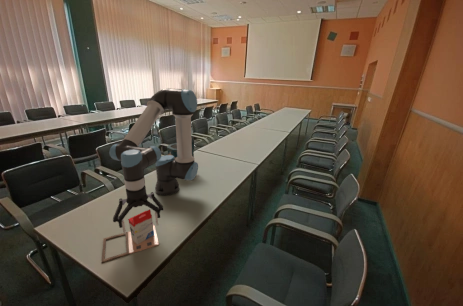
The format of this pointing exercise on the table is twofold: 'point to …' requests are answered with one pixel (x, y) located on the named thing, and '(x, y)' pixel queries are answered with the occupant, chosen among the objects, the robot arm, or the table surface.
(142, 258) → the table surface
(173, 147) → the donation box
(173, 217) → the table surface
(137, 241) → the ink box
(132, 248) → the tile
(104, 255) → the frame
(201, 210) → the table surface
